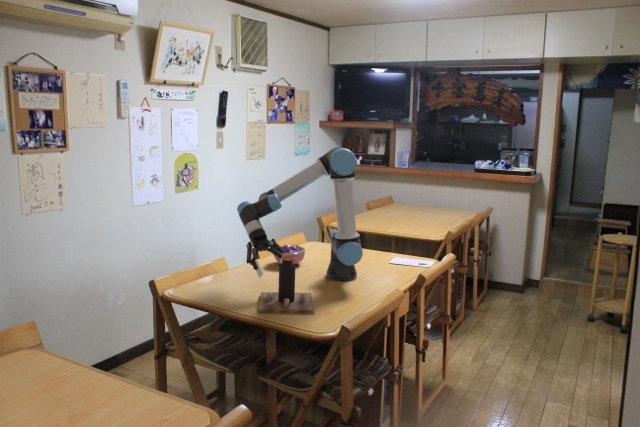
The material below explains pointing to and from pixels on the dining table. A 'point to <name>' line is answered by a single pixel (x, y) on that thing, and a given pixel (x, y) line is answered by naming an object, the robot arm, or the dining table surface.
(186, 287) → the dining table surface
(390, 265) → the dining table surface
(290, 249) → the cell model
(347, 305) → the dining table surface
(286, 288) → the vinegar
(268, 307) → the peg stand
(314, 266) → the dining table surface
